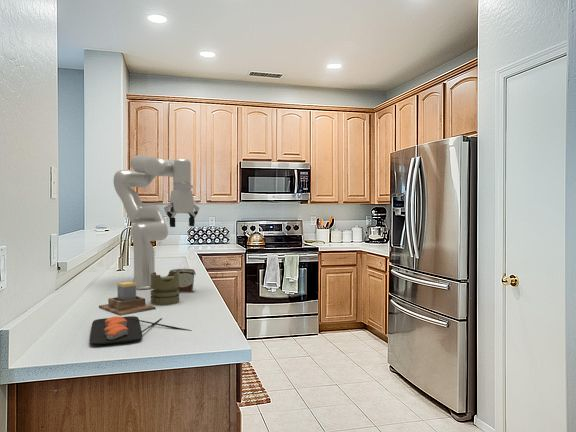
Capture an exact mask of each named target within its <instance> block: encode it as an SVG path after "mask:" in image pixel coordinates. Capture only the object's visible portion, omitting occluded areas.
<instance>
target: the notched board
mask: <svg viewBox="0 0 576 432" xmlns="http://www.w3.org/2000/svg"><path fill="white" fill-rule="evenodd" d="M107 299H108V300H107V301H108V303H107V304H101V305H100V304H99V305H98V308H99V309H101V310H104V311H106V312H110V313H113V314H115V315H118V316H123V315H124V316H125V315H129V314H137V313H141V312H147V311H152V310H156V306H155V305H152V304H147V303H146V298H145V297H142V296H139V295H136V299H135V300H129V301H123V302H121V301H118V296H115V297H110V298H107Z"/></svg>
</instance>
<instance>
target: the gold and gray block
mask: <svg viewBox="0 0 576 432" xmlns="http://www.w3.org/2000/svg"><path fill="white" fill-rule="evenodd" d="M136 296H137V289H136V283H134V281H133V282H132V281H123V282H117V297H118V301H121V302H123V301H129V300H135V299H136Z"/></svg>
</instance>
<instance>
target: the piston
mask: <svg viewBox="0 0 576 432" xmlns="http://www.w3.org/2000/svg"><path fill="white" fill-rule="evenodd" d="M178 287H179V272H176V271H170V270H169V272H168V274H167V275H166V276H161V275H160V274H157V273H156V271H155V272H153V273H151V289H150V305H152V306H172V305H176V304H179V303H180V292H179V289H177V288H178Z"/></svg>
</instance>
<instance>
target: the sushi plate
mask: <svg viewBox="0 0 576 432" xmlns="http://www.w3.org/2000/svg"><path fill="white" fill-rule="evenodd" d="M161 320H163V317H160V318H159V319H158V320H156V321H155V322H151V321H146V320H141V319H139V317H138V316H135V315H134V316H133V315H132V316H120V315H118V316H116V315H115V316H112V317H107V318H98V319H94V320H93V321H92V322H91V323H92V324H91V329H90V335H89V344H91V345H111V344H121V343H128V342H134V341H139V340H142V338H143V332H145V331H147V330H148V329H150V328H152V327H153V326H159V327H165V328H168V329H169V328H170V329H172V330H173V329H174V330H178V331H179V330H180V331H190V332H192V329H187V328H182V327H178V326H177V327H176V326H173V325H167V324H162V323H160V321H161ZM141 323H147V324H151V325H149V326H148V327H146V328H144V329H143V330H142V327H141Z"/></svg>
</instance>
